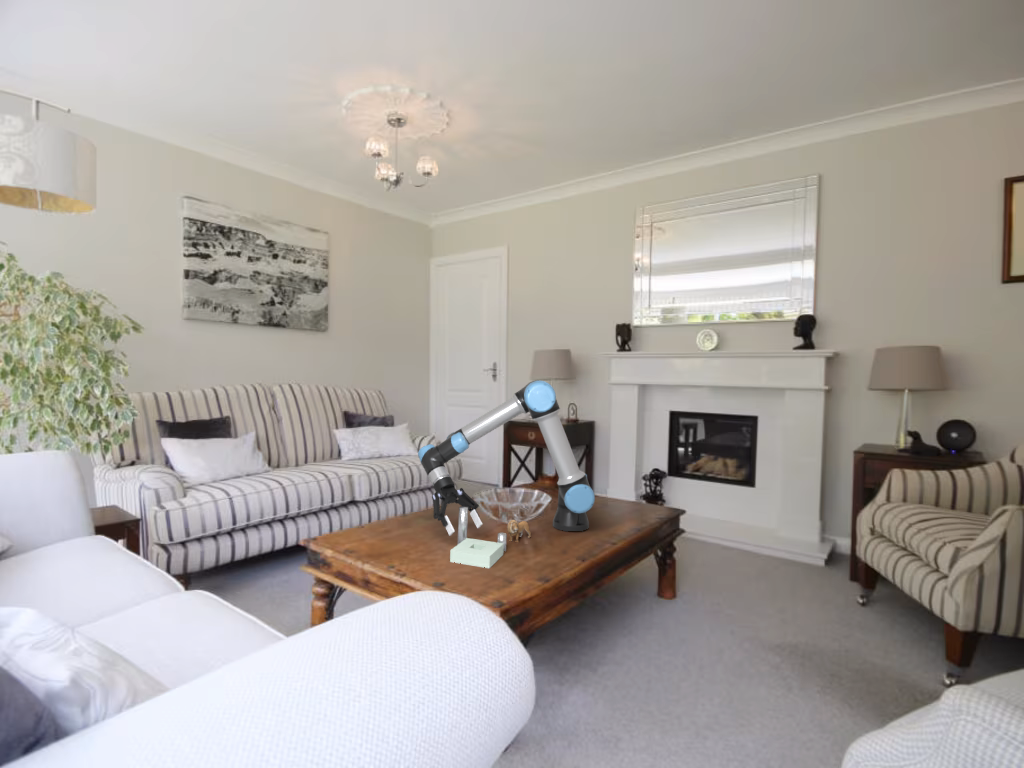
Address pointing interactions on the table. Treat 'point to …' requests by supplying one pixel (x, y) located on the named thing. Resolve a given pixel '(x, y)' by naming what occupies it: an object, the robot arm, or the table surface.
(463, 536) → the tall peg
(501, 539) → the short peg
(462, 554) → the socket block
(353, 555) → the table surface
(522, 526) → the lion figurine
